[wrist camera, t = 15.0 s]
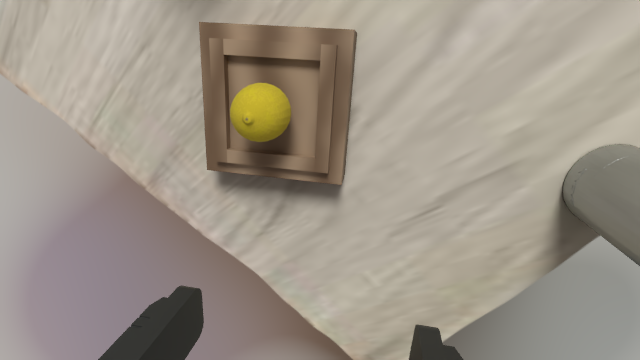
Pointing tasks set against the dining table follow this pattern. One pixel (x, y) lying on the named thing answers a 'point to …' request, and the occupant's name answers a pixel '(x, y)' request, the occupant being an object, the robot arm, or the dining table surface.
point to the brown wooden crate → (295, 82)
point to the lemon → (260, 112)
